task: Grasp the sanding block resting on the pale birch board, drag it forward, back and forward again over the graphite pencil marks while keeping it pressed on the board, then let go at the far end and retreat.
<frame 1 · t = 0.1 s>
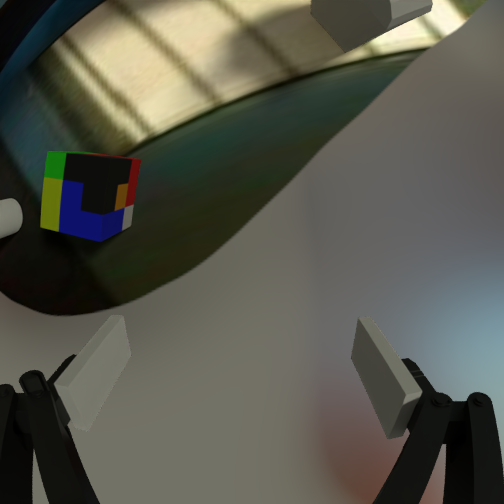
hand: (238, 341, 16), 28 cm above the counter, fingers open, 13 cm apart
puzzle toy: (107, 187, 41), on the counter
soap bottle: (339, 27, 34), on the counter
can: (13, 215, 42), on the counter
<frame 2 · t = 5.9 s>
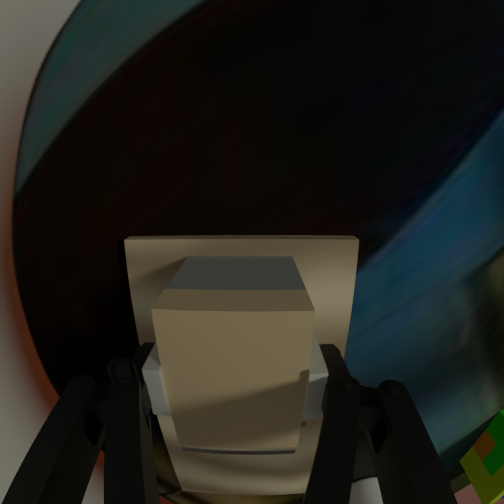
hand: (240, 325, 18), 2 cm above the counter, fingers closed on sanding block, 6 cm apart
puzzle toy: (497, 431, 26), on the counter
sanding block: (240, 318, 18), point 1 cm above the counter, touching board, gripper
board: (243, 409, 22), on the counter
can: (360, 487, 27), on the counter
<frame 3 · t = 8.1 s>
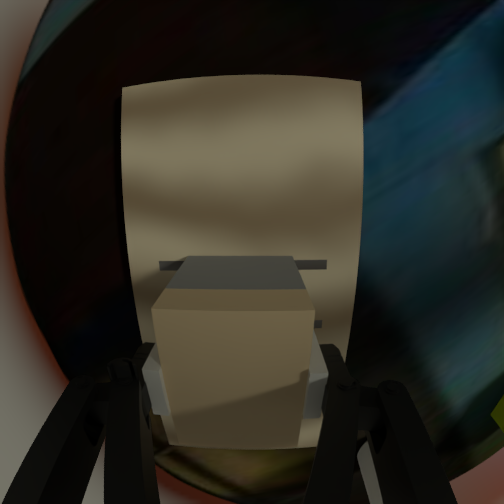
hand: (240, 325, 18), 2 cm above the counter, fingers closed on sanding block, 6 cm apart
sanding block: (240, 318, 18), point 1 cm above the counter, touching gripper
board: (243, 304, 19), on the counter
can: (385, 443, 24), on the counter
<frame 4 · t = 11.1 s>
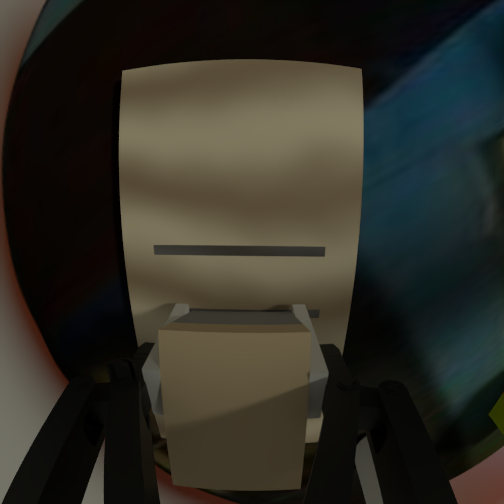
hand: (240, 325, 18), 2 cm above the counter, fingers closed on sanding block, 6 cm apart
sanding block: (240, 373, 18), point 2 cm above the counter, tilted 20°, touching gripper
board: (239, 292, 19), on the counter
can: (381, 440, 24), on the counter
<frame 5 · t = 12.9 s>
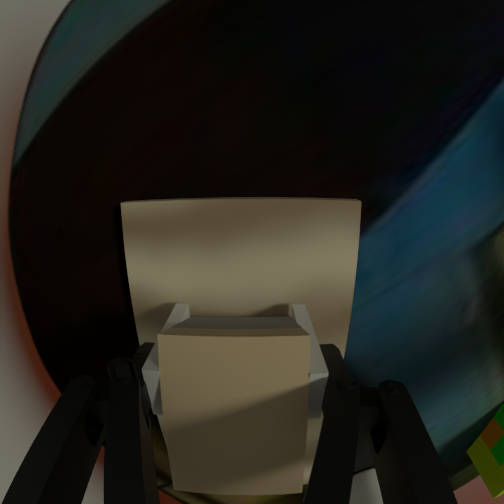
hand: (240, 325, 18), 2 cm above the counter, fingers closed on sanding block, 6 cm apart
sanding block: (241, 378, 18), point 3 cm above the counter, tilted 21°, touching gripper
board: (243, 389, 21), on the counter
can: (365, 478, 26), on the counter
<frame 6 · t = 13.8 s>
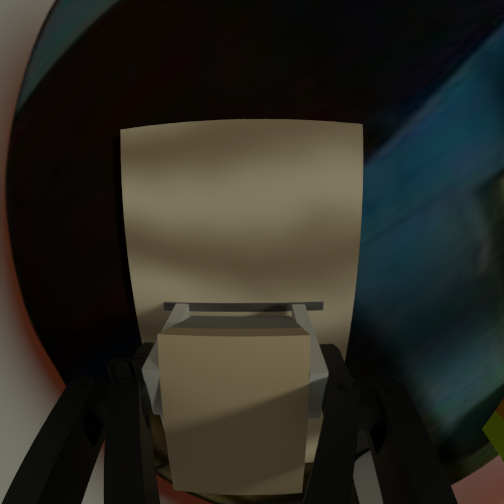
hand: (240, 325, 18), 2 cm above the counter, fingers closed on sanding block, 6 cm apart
sanding block: (241, 378, 18), point 3 cm above the counter, tilted 21°, touching gripper
board: (244, 340, 20), on the counter
can: (378, 457, 25), on the counter
when the fingers open (2 cm above the counter, at t = 16.5 s): sanding block drops 2 cm, resting on board.
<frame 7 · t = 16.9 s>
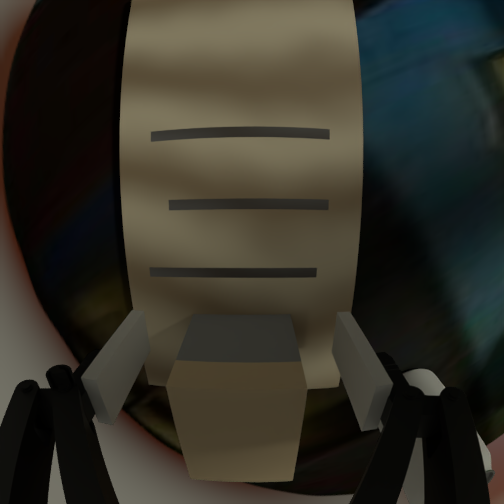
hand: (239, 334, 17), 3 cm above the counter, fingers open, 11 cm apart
sanding block: (242, 366, 19), point 1 cm above the counter, touching board
board: (239, 184, 17), on the counter
can: (403, 393, 22), on the counter
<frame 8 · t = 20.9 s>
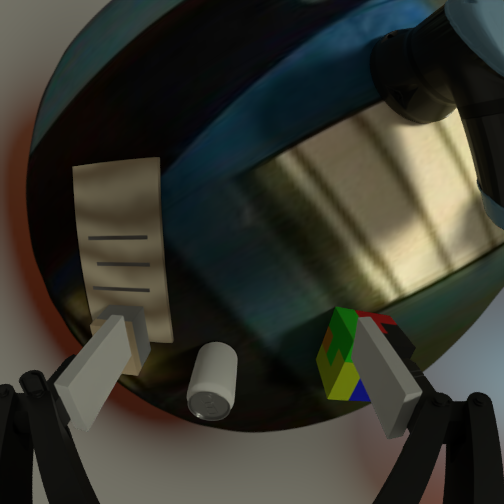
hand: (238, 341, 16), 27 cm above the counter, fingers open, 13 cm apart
puzzle toy: (352, 337, 46), on the counter
sanding block: (130, 328, 45), point 1 cm above the counter, touching board
board: (121, 255, 43), on the counter
can: (217, 356, 47), on the counter
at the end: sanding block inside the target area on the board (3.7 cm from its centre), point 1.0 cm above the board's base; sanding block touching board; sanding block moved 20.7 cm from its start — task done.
